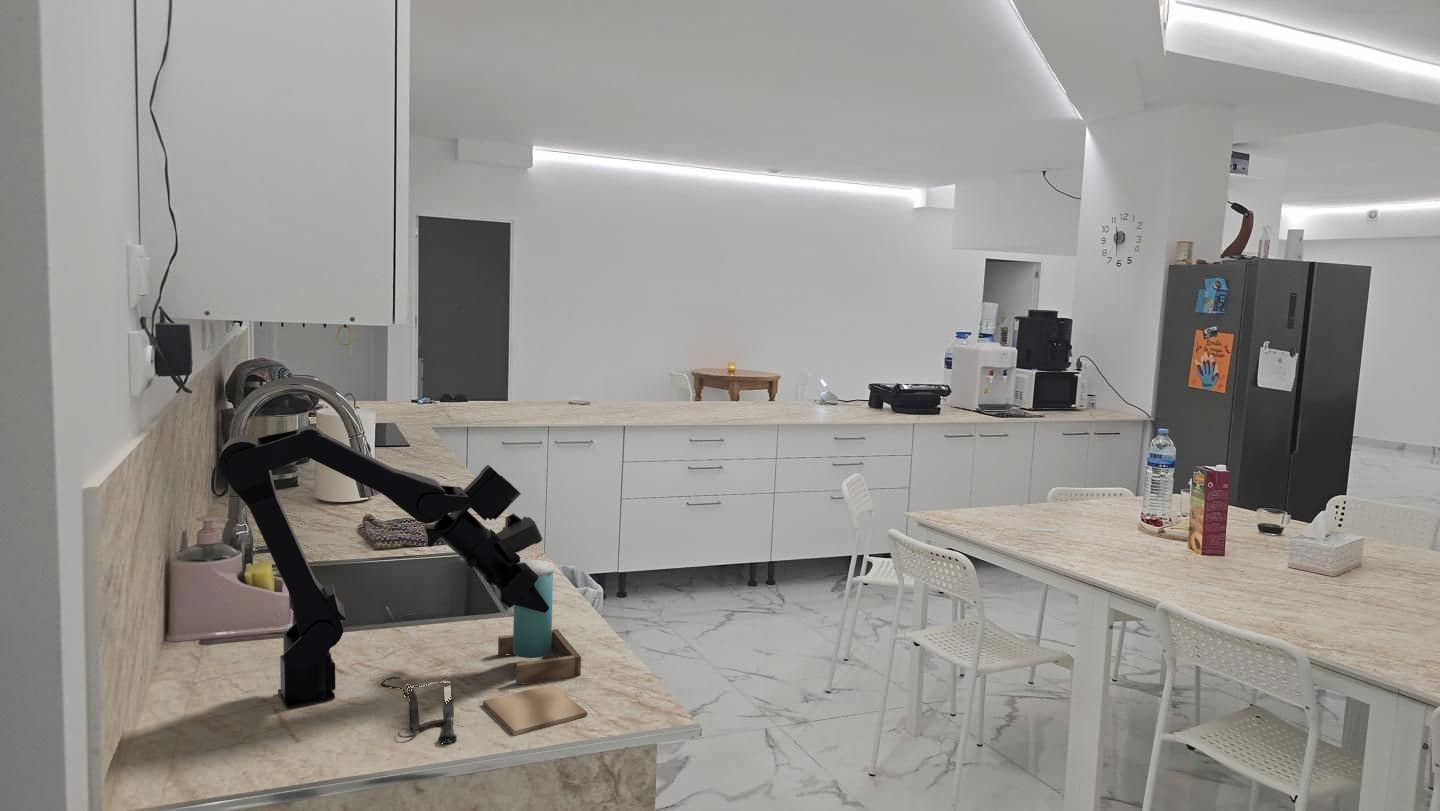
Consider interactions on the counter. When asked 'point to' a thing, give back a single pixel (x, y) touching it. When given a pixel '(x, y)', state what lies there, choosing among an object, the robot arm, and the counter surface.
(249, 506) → the robot arm
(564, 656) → the cubby
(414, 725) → the hacksaw
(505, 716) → the mat
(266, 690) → the counter surface
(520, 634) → the tin
